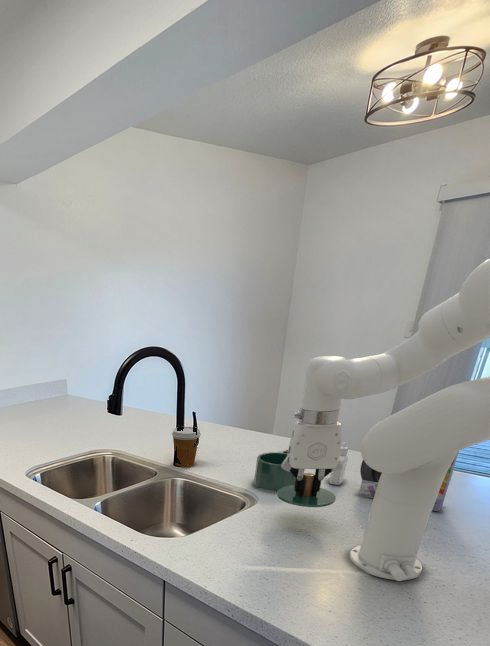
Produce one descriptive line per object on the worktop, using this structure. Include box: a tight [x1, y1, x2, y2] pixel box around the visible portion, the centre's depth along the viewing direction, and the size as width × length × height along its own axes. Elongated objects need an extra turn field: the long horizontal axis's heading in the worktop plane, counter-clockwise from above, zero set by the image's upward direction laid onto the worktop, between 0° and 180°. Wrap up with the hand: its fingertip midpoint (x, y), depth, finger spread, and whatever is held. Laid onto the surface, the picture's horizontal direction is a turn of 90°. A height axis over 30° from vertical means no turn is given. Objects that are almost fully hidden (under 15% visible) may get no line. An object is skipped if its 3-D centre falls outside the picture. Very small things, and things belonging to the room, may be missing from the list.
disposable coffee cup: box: [171, 426, 202, 468], centre depth 147 cm, size 10×10×12 cm
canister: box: [253, 451, 296, 492], centre depth 128 cm, size 11×11×8 cm
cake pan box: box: [358, 450, 460, 512], centre depth 112 cm, size 19×5×18 cm, turn 45°
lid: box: [276, 472, 337, 508], centre depth 102 cm, size 13×13×6 cm
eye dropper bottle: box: [328, 442, 349, 486], centre depth 127 cm, size 4×6×12 cm
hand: (306, 493), depth 103 cm, fingers closed on lid, 2 cm apart
